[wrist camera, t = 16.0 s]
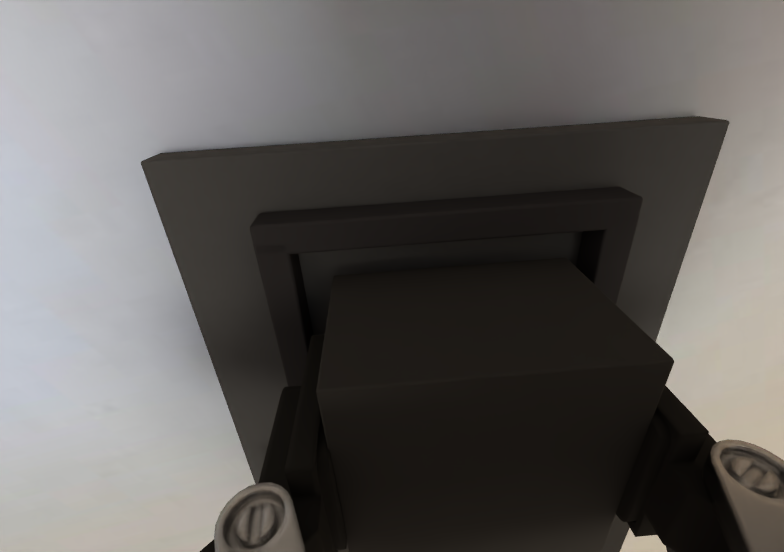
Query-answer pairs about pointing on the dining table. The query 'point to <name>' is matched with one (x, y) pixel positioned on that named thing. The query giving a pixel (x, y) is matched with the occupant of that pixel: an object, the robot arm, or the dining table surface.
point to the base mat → (418, 230)
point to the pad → (483, 407)
